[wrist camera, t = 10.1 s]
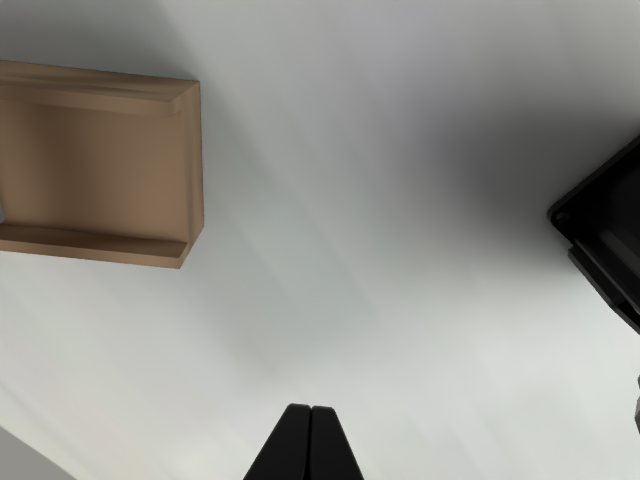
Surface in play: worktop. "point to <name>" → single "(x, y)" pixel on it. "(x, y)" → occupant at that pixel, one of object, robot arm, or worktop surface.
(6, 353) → the worktop surface
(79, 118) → the tray
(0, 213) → the plunger
